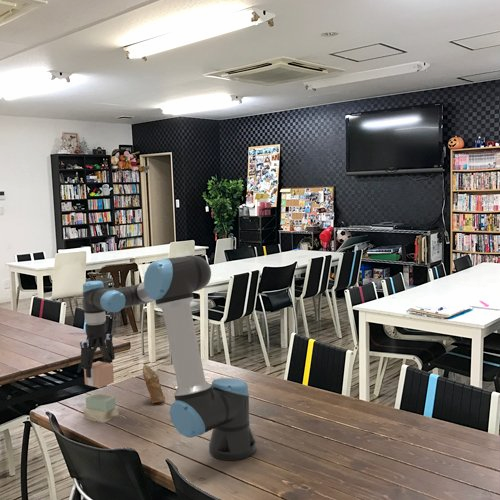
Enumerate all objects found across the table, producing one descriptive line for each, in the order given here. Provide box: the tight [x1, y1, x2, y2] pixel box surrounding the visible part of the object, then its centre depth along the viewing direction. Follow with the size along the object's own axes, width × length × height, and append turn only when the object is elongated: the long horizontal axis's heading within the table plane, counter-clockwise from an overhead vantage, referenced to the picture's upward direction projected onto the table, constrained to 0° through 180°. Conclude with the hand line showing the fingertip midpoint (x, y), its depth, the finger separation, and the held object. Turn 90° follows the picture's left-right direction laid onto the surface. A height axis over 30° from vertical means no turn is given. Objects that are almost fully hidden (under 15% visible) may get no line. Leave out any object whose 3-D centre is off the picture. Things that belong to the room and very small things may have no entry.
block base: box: [83, 405, 120, 424], centre depth 217 cm, size 8×10×4 cm
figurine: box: [142, 364, 166, 404], centre depth 230 cm, size 8×8×15 cm
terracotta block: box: [83, 360, 115, 389], centre depth 216 cm, size 7×8×7 cm
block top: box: [85, 392, 117, 412], centre depth 217 cm, size 5×10×4 cm, turn 61°
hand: (99, 382), depth 216 cm, fingers closed on terracotta block, 7 cm apart
